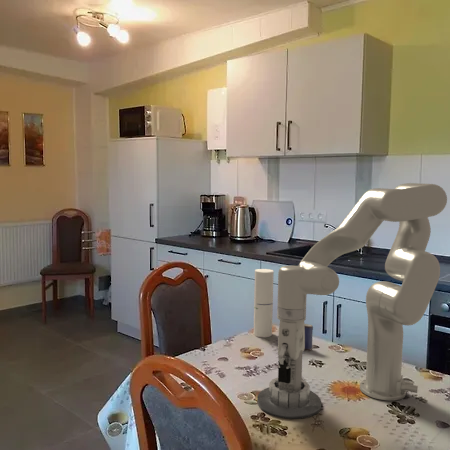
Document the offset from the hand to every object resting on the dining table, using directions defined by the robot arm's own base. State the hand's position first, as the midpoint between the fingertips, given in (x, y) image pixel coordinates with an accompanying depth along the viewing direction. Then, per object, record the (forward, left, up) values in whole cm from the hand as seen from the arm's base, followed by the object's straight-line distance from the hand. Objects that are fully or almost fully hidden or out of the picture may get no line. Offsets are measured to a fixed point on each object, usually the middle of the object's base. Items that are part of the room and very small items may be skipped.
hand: (289, 375), depth 129 cm
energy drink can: (0, 0, -7) cm, 7 cm away
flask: (+9, -43, -8) cm, 45 cm away
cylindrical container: (+26, -51, -8) cm, 58 cm away
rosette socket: (0, 0, -8) cm, 8 cm away
